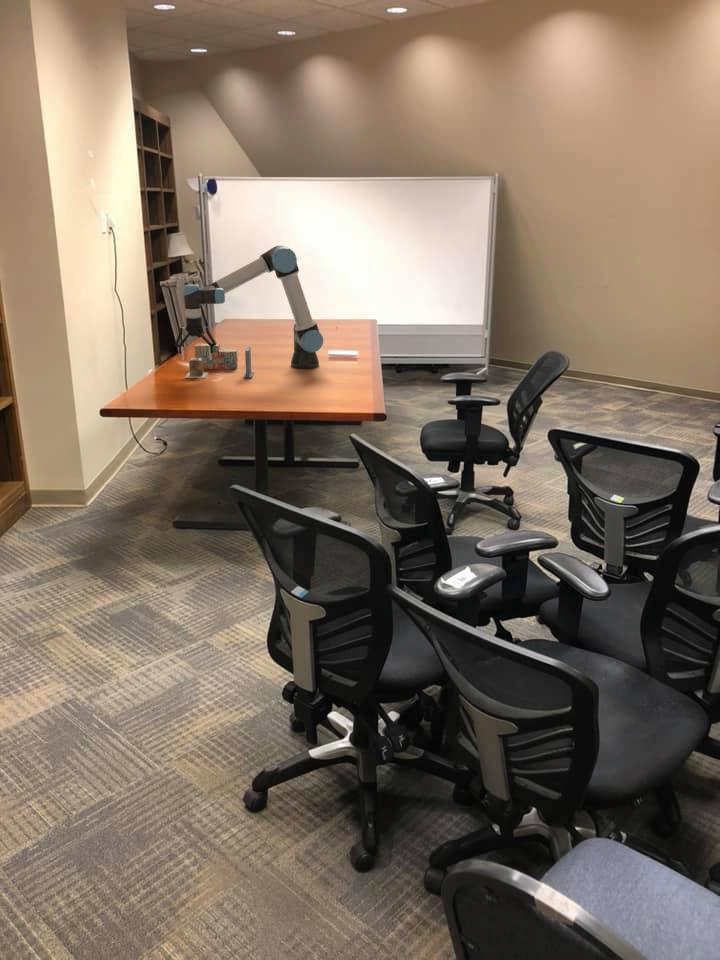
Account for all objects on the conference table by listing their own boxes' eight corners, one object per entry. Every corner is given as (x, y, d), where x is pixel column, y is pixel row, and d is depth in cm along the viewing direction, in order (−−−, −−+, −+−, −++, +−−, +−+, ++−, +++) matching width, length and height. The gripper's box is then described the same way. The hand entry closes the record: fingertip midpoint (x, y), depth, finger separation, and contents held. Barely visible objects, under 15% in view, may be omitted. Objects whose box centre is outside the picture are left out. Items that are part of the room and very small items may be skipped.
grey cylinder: (203, 373, 387) (202, 357, 384) (202, 376, 381) (201, 359, 379) (191, 373, 387) (190, 357, 384) (189, 376, 381) (188, 359, 378)
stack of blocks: (238, 366, 407) (237, 343, 403) (236, 369, 401) (235, 345, 397) (197, 366, 406) (196, 343, 402) (195, 368, 401) (194, 345, 396)
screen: (253, 373, 392) (252, 346, 387) (251, 378, 380) (250, 350, 375) (245, 373, 391) (244, 346, 386) (243, 378, 380) (242, 350, 375)
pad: (208, 373, 390) (208, 372, 390) (205, 378, 379) (205, 377, 379) (188, 373, 390) (188, 372, 389) (184, 378, 378) (184, 377, 378)
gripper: (220, 315, 378) (222, 358, 386) (169, 316, 377) (173, 358, 385) (218, 317, 371) (221, 361, 379) (166, 318, 370) (170, 361, 378)
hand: (196, 359), depth 382 cm, fingers open, 13 cm apart
